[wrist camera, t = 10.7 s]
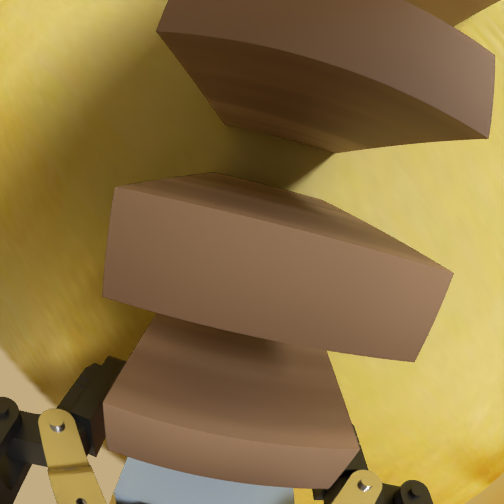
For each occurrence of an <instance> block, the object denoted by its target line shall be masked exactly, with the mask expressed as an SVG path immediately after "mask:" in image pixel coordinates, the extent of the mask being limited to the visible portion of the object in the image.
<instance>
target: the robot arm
mask: <svg viewBox="0 0 504 504" xmlns="http://www.w3.org/2000/svg"><path fill="white" fill-rule="evenodd" d="M125 364H126V361H124V360H121V359H118V358H115V357H112V356H108V357H107V359H106V360H105V362H104V363H103V364H102V366H101V365H99V364H96V363H94V364H92V365H91V366H89V367H87V368H85V369H84V371H83V372H82V374H81V375H80V376H79V378H78V379H77V380H76V382H75V384H74V385H73V386H72V387H71V389H70V390H69V391H68V393H67V394H66V396H65V397H64V398H63V400H62V401H61V403H60V404H59V406H58V407H57V408H56V409H49V410H46V411H44V412H43V413H42V414H33V413H28V412H24V411H19V409H18V406H17V405H16V403H15V402H14V401H13V400H11V399H9V398H6V397H0V504H13V502H14V500H15V498H16V496H17V493H18V492H19V489H20V487H21V485H22V483H23V481H24V479H25V477H26V475H27V473H28V471H29V469H30V467H31V465H32V464H36V465H41V466H46V467H48V475H49V479H50V482H51V486H52V489H53V492H54V495H55V498H56V501H57V504H107V503H106V501H105V498H104V496H103V494H102V492H101V489H100V487H99V485H98V482H97V480H96V477H95V475H94V472H93V470H92V468H91V466H90V465H89V462H88V460H87V455H88V454H90V455H92V456H95V457H96V456H97V454H98V452H99V450H100V448H101V446H102V443H103V441H104V439H105V437H106V434H105V423H104V411H103V401H104V400H105V398H106V396H107V394H108V393H109V391H110V389H111V387H112V386H113V384H114V382H115V381H116V379H117V377H118V376H119V374H120V372H121V370H122V369H123V367H124V365H125ZM352 426H353V429H354V432H355V435H356V438H357V441H358V444H359V440H358V437H357V434H356V431H355V427H354V425H353V424H352ZM359 447H360V450H359V451H358V453H357V454H356V456H355V457H354V458H353V460H352V461H351V462H350V463H349V465H348V466H347V467H346V469H345V470H344V471H343V472H342V474H341V475H340V476H339V477H338V479H337V480H336V481H335V482H334V483H333V485H332V486H331V487H330V488H329V489H312V490H313V497H314V500H324V504H433V502H432V499H431V496H430V493H429V491H428V489H427V487H426V486H425V485H424V484H423V483H421V482H419V481H416V480H409V481H406V482H405V483H403V484H402V485H401V486H400V487H399V486H394V485H389V484H384V483H382V481H381V479H380V478H379V477H378V476H377V475H376V474H375V473H373V472H371V471H368V468H367V465H366V461H365V458H364V455H363V452H362V449H361V446H360V444H359Z"/></svg>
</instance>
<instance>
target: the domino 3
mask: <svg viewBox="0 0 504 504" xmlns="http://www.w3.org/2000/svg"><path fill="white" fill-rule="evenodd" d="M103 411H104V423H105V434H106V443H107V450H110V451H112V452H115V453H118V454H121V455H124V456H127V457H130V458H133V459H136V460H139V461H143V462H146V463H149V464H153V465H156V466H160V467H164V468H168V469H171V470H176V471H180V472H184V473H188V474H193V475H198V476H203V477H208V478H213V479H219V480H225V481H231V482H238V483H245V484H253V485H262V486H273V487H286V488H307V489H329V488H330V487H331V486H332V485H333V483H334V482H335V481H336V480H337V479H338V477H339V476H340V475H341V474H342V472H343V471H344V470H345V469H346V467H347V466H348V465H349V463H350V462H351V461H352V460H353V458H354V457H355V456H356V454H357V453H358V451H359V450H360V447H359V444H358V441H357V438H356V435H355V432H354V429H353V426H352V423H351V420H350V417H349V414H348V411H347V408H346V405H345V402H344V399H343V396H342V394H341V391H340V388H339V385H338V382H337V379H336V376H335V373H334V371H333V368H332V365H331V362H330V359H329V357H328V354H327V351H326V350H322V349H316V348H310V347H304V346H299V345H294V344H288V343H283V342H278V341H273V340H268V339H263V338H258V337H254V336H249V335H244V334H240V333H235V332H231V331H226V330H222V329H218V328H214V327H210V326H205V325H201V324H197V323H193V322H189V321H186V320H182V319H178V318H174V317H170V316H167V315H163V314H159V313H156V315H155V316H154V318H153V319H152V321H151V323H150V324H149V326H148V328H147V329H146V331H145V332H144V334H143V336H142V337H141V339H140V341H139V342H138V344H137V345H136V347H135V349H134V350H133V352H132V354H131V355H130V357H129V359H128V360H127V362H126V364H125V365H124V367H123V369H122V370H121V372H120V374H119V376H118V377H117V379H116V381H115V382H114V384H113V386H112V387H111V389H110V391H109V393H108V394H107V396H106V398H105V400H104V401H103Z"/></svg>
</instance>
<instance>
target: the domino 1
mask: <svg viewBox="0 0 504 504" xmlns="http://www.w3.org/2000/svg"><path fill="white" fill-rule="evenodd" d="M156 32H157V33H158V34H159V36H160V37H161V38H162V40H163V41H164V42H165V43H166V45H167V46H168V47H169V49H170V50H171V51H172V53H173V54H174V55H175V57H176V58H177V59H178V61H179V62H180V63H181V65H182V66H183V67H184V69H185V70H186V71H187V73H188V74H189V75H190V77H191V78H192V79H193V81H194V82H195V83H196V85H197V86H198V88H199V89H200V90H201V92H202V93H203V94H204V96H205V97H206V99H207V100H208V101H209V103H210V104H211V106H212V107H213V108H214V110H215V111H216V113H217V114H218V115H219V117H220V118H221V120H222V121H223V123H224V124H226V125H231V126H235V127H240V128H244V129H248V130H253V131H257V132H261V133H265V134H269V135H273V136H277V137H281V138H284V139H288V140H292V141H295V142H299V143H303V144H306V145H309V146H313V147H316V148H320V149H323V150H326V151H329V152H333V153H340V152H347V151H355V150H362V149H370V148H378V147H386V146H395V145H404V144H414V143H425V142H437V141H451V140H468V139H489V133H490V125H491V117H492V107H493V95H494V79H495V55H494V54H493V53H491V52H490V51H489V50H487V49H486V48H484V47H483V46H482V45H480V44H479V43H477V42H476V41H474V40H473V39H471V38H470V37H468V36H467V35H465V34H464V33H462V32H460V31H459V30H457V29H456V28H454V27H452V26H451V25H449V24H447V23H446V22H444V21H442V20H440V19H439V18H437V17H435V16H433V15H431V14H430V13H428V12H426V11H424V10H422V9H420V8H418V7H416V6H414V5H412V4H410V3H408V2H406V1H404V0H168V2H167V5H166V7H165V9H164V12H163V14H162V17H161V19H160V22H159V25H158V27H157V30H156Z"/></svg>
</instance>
